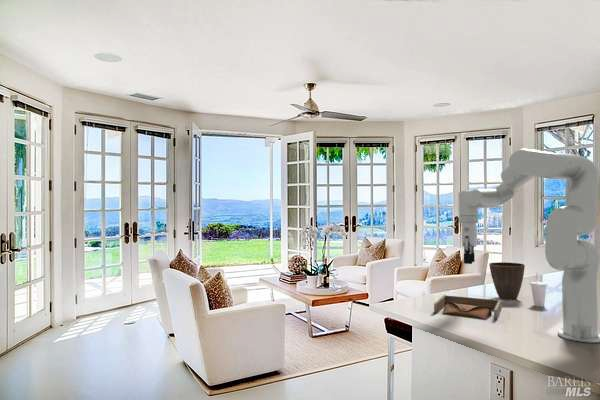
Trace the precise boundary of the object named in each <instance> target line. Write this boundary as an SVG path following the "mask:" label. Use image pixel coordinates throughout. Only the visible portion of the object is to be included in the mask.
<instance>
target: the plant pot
mask: <svg viewBox="0 0 600 400" xmlns="http://www.w3.org/2000/svg"><path fill="white" fill-rule="evenodd" d="M488 265H489V271H490V275H491V279H492V281H493V282H492V283H493V285H494V289H495V291H496V293H497V296H498V298H499V300H504V301H515V300H517V299H518V297H519V294H520V291H521V288H522V284H523V279H524V274H525V267H526V265H525V264H523V263H518V262H505V261H504V262H500V261H499V262H490V263H488Z"/></svg>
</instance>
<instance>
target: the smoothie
mask: <svg viewBox="0 0 600 400" xmlns="http://www.w3.org/2000/svg"><path fill="white" fill-rule="evenodd" d="M535 278H536V281H531V282H530V286H531V292H532V299H533V306H534V307H545V303H546V302H545V301H546V295H547V294H546V293H547V287H548V283H547V282H543V281H542V282H540V281H539V273H538V272H536V276H535Z"/></svg>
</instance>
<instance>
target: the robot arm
mask: <svg viewBox="0 0 600 400" xmlns="http://www.w3.org/2000/svg"><path fill="white" fill-rule="evenodd" d="M536 177H538V178H543V179H547V180H548V179H549V180H568V181H570V183H569V185H568V187H567V190H566V194H565V205H564V206H559V207H556V208H555V209H553V210H552V211H551V212H550V213H549V215H548V216H547V217H548V218H547V221H546V227H545V228H546V229H545V244H544V245H545V248H544V252H545V259H546V261H547V263H548V265H549V266H550V267H551V268H553V269H555V270H557V271H561V272H563V273H562V277H561V278H562V279H561V293H562V295H561V298H562V328H560V329H558V330H557V335H558V336H560V337H562V338H563V339H565V340H571V341H574V342H581V343H590V344H591V343H595V344H596V343H600V332H599V322H598V321H599V317H598V316H599V314H598V313H599V312H598V311H599V310H598V309H599V308H598V271H599V264H600V252H599V250H598V247H597V246H596V245H595V243H592V242H591V241H589V240H587V239H581V238H578V236H585V235H586V236H587V235H589V234H591V233H593V232H594V231H595V229H596V227H597V215H598V214H597V213H598V196H599V195H598V193H599V184H600V183H599V182H600V173H599V169H598V167H597V166H596V164H595V163H594V162H593V161H592V160H591V159H589V158H587V157H585V156H582V155H578V154H572V153H558V152H549V151H542V150H539V149H531V148H530V149H529V148H519V149H517V150H515V151H514V152H513V153H511V154H510V156H509V159H508V166H507V167H506V168H504V169H502V171H501V173H500V178H501V180H502V183H500V184H499V185H497V186H496V187H495V188H476V189H471V190H470V189H469V190H467V189H466V190H461V191H459V192H458V223H459V224H461V246H462V247H463V264H465V265H472V264H473V263H475V261H476V260H475V247H477V246H478V236H477V235H478V233H477V231H478V230H477V224H479V209H480V208H481V209H482V208H483V209H484V208H497V207H499V206H502V205H504V204H505V203H507V202H508V201H510V200H511V199H512V198H514V197H515V195H516V193H517V192H518V189H519V188H521V187H522V186H523V185H525V184H526V183H528V182H529V181H530V180H532V179H534V178H536Z"/></svg>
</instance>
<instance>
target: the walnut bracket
mask: <svg viewBox="0 0 600 400" xmlns="http://www.w3.org/2000/svg"><path fill="white" fill-rule="evenodd" d="M446 302H451V303H455V304H465V305H473V306H485V307H489V308H490V309H491V311H492V310H493V320H494V321H495V322H496V321H498V319H499V317H500V314H501V313H502V312H501V311H502V299H491V298H479V297H467V296H456V295H448V294H447V295H446V294H443V295H442V296H441V297H440V298H439V299H438V300H436V301H435V302H434V303H433V314H434V315H437V314H438V313H439V312H440V311H441V310H443V309H444V307H445V304H446Z"/></svg>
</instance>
